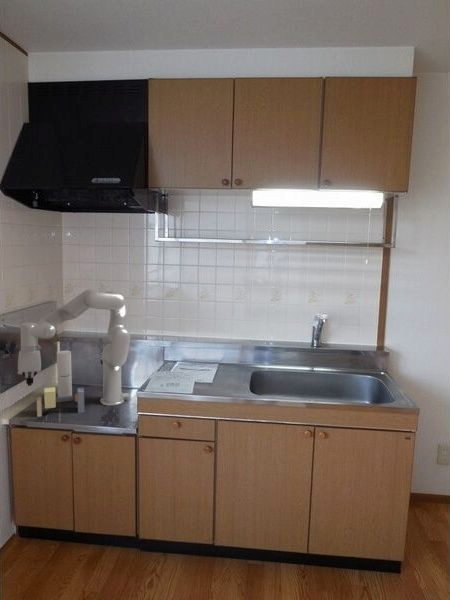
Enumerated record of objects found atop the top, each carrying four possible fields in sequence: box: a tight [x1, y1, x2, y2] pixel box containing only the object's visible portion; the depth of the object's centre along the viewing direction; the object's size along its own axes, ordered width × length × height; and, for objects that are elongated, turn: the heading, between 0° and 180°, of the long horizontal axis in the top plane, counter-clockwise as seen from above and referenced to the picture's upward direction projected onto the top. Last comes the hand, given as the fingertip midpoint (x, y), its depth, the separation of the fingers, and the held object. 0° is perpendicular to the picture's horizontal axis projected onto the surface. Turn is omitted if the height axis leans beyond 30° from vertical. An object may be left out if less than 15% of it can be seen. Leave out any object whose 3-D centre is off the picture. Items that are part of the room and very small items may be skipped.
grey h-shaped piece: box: [36, 387, 85, 418], centre depth 224 cm, size 22×6×11 cm, turn 110°
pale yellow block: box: [43, 386, 57, 409], centre depth 222 cm, size 5×6×8 cm
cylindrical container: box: [56, 350, 73, 397], centre depth 244 cm, size 7×7×25 cm
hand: (29, 384), depth 217 cm, fingers closed
